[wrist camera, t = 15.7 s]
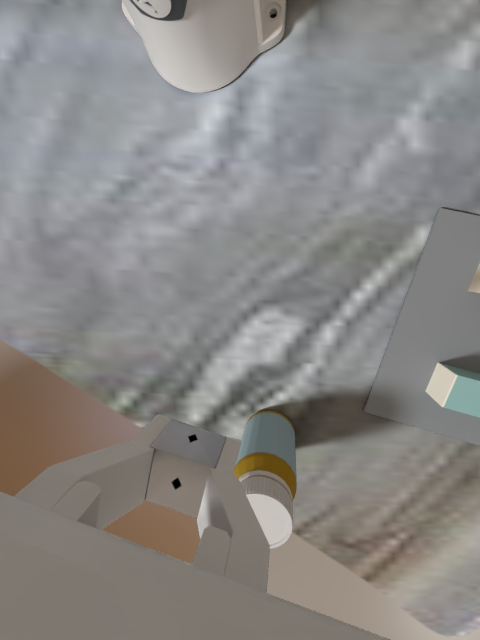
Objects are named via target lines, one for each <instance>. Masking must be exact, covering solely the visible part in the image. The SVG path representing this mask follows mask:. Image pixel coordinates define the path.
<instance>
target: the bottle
mask: <svg viewBox="0 0 480 640" xmlns="http://www.w3.org/2000/svg"><path fill="white" fill-rule="evenodd" d="M233 475H234V476H237V477H238V479H239V481H240V483H241V485H242V487H243V490H244V492H245V494H246V496H247V498H248V500H249V502H250V504H251V507H252V509H253V511H254V513H255V515H256V517H257V519H258V521H259V524H260V526H261V528H262V530H263V532H264V534H265V536H266V538H267V541H268V543H269V545H270V549H271V548H275V547H278V546H280V545H282V544H283V543H285V542H286V541H287V539H288V538H289V536H290V535H291V532H292V528H293V506H292V501H293V499H294V497H295V493H296V452H295V433H294V428H293V425H292V424H291V422H290V421H289V420H288V418H287V417H285V416H284V415H282V414H281V413H279V412H276V411H271V410H266V411H260V412H258V413H255V414H254V415H253V416H252V417H250V419H249V420H248V422H247V424H246V427H245V430H244V434H243V438H242V443H241V447H240V451H239V454H238V458H237V462H236V466H235V469H234V473H233Z"/></svg>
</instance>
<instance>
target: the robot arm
mask: <svg viewBox="0 0 480 640" xmlns="http://www.w3.org/2000/svg"><path fill="white" fill-rule="evenodd" d="M286 1H287V0H122V9H123V12H124V14H125V16H126V18H127V19H128V21H129V23H130V24H131V25H132V27H133V28H134V29H135V30H136V31H137V32H138V33H139V34H140V36H141V38H142V40H143V43H144V45H145V48H146V50H147V53H148V55H149V58H150V60H151V62H152V64H153V65H154V67H155V68H156V70H157V71H158V72H159V74H160V75H161V76H162V77H163V78H164V79H165V80H166V81H168V82H169V83H170V84H172V85H173V86H175V87H177V88H179V89H182V90H185V91H189V92H198V93H200V92H209V91H213V90H216V89H219V88H221V87H223V86H225V85H227V84H229V83H230V82H232V81H233V80H234V79H236V78H237V77H238V76H239V75H240V74H241V73H242V72H243V71H244V70H245V69H246V67H247V66H248V65H249V64H250V63H251V62H252V60H253V59H254V58H255V57H256V56H257V55H258V54H260V53H262V52H264V51H266V50H268V49H270V48H271V47H273V46H275V45H276V44H277V43H278V42H280V40H281V39H282V38H283V35H284V31H285V17H286ZM273 14H276V15H277V16H276V17H275V18H271V15H273ZM241 443H242V442H241V440H237V439H234V438H230V437H225V436H222V435H219V434H216V433H212V432H209V431H206V430H202V429H199V428H197V427H195V426H192V425H189V424H186V423H183V422H180V421H177V420H174V419H171V418H168V417H165V416H162V415H157V416H155V417H154V419H153V420H152V421H151V422H150V423H149V424H148V425H147V426H146V428H145V429H144V430H143V431H142V432H141V433H140V434H139V436H138V437H137V438H136V439H135V440H134V441H130V440H128V441H125V442H122V443H119V444H116V445H113V446H110V447H107V448H104V449H101V450H98V451H95V452H92V453H88V454H85V455H83V456H79V457H76V458H73V459H70V460H67V461H64V462H61V463H58V464H55V465H52V466H49V467H48V468H47V469H46V470H45V471H44V472H42V473H41V474H40V475H39V476H38V477H37V478H35V479H34V480H33V481H32V482H30V483H29V484H28V485H27V486H26V487H25V488H23V489H22V490H21V491H20V492H19V493H17V494H16V495H15V496H14V497H12V496H10V495H7V494H5V493H2V492H0V640H390V639H387V638H384V637H381V636H379V635H377V634H374V633H371V632H369V631H366V630H363V629H360V628H358V627H355V626H353V625H350V624H347V623H344V622H342V621H339V620H337V619H334V618H332V617H329V616H326V615H324V614H321V613H318V612H316V611H313V610H310V609H308V608H305V607H302V606H300V605H297V604H294V603H292V602H289V601H286V600H284V599H281V598H278V597H276V596H273V595H270V594H268V593H267V581H268V567H269V553H270V545H269V543H268V541H267V538H266V536H265V534H264V532H263V530H262V528H261V526H260V524H259V521H258V519H257V517H256V515H255V513H254V511H253V509H252V507H251V504H250V502H249V500H248V498H247V496H246V494H245V492H244V490H243V487H242V485H241V483H240V481H239V479H238V477H237V476H234V475H233V473H234V469H235V466H236V462H237V458H238V454H239V451H240V447H241ZM144 500H146V501H149V502H152V503H155V504H159V505H161V506H165V507H168V508H171V509H173V510H176V511H178V512H181V513H183V514H186V515H188V516H191V517H194V518H196V519H197V523H198V529H199V534H200V539H201V540H200V543H199V546H198V549H197V552H196V555H195V558H194V561H193V564H189V563H187V562H184V561H182V560H179V559H176V558H174V557H171V556H168V555H166V554H163V553H161V552H158V551H155V550H152V549H150V548H147V547H145V546H142V545H139V544H137V543H134V542H131V541H129V540H126V539H124V538H121V537H118V536H116V535H113V534H110V533H108V532H105V531H102V529H103V528H105V527H106V526H108V525H109V524H111V523H113V522H114V521H115V520H117V519H119V518H120V517H122V516H123V515H125V514H126V513H128V512H129V511H131V510H132V509H134V508H135V507H137V506H138V505H140V504H141V503H143V502H144Z"/></svg>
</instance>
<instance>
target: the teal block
mask: <svg viewBox="0 0 480 640" xmlns="http://www.w3.org/2000/svg"><path fill="white" fill-rule="evenodd" d="M426 392H427V393H428V394H429V395H430V396H431V397H432V398H433V399H434V400H435V401H436V402H437V403H438V404H439V405H440V406H441V407H444V408H447V409H451V410H454V411H458V412H461V413H465V414H469V415H472V416H476V417H479V418H480V373H476V372H472V371H468V370H465V369H461V368H457V367H453V366H450V365H446V364H442V363H437V365H436V367H435V370H434V372H433V375H432V377H431V379H430V382H429V384H428V386H427V389H426Z"/></svg>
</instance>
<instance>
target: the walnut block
mask: <svg viewBox="0 0 480 640" xmlns="http://www.w3.org/2000/svg"><path fill="white" fill-rule="evenodd" d="M468 291H470V292H474V293H478V294H480V264H479V266H478V268H477V271H476V273H475V275H474V278H473V280H472V283H471V285H470V287H469V290H468Z"/></svg>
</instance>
